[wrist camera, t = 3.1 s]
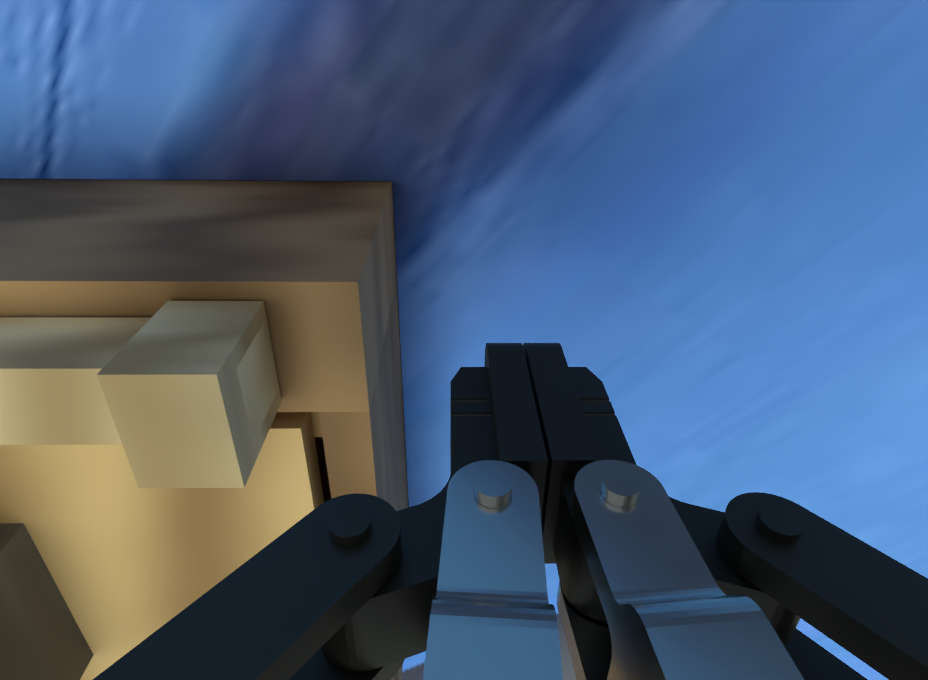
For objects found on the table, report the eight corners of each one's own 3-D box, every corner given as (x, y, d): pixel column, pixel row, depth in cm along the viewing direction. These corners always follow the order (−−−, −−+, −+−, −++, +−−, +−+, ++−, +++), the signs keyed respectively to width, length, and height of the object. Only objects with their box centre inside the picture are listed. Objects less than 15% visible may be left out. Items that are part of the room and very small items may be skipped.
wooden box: (391, 181, 19) (325, 377, 9) (410, 551, 28) (388, 856, 18) (-294, 176, 18) (-1180, 379, 8) (-49, 555, 27) (-336, 869, 17)
